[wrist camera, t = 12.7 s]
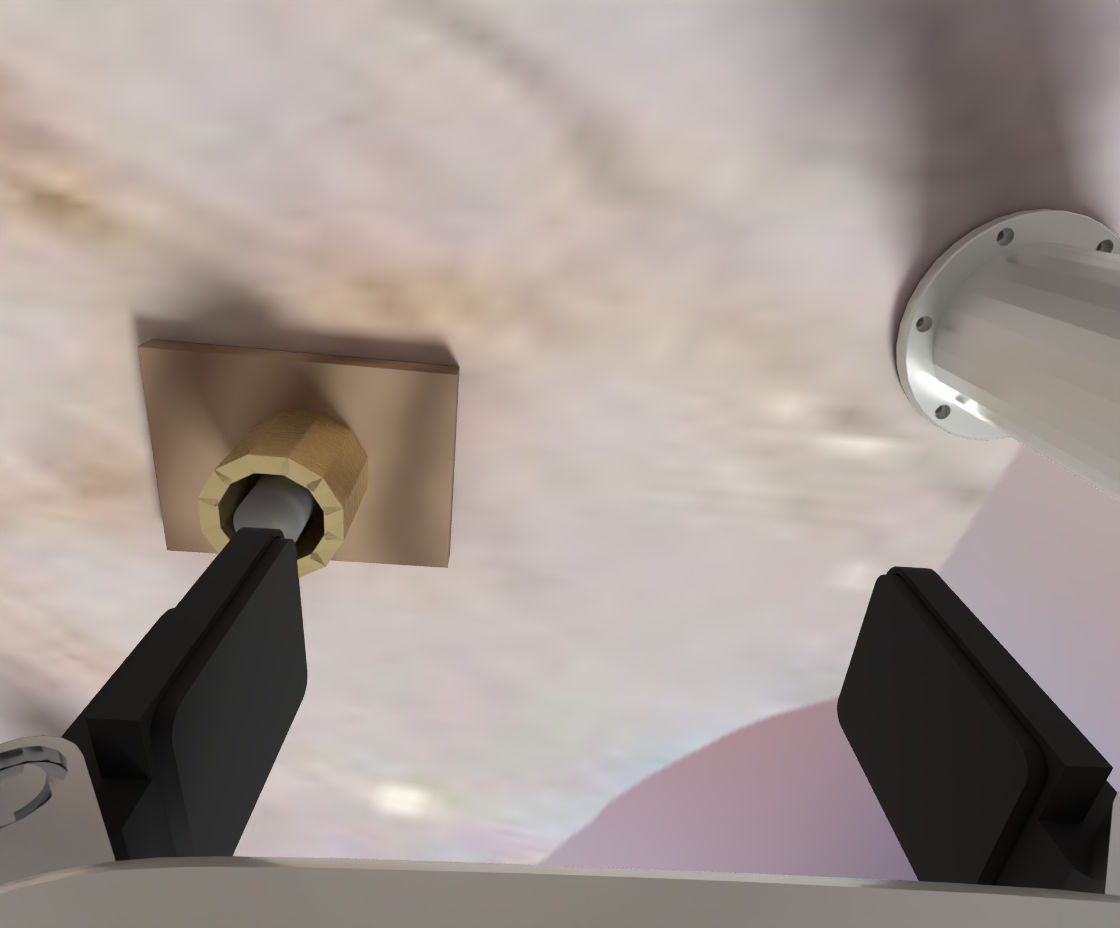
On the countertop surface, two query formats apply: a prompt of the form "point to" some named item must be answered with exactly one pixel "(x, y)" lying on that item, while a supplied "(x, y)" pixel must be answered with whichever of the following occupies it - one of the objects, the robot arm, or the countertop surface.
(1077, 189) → the countertop surface
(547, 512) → the countertop surface
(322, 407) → the post stand
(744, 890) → the robot arm
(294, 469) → the wooden cup
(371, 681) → the countertop surface
